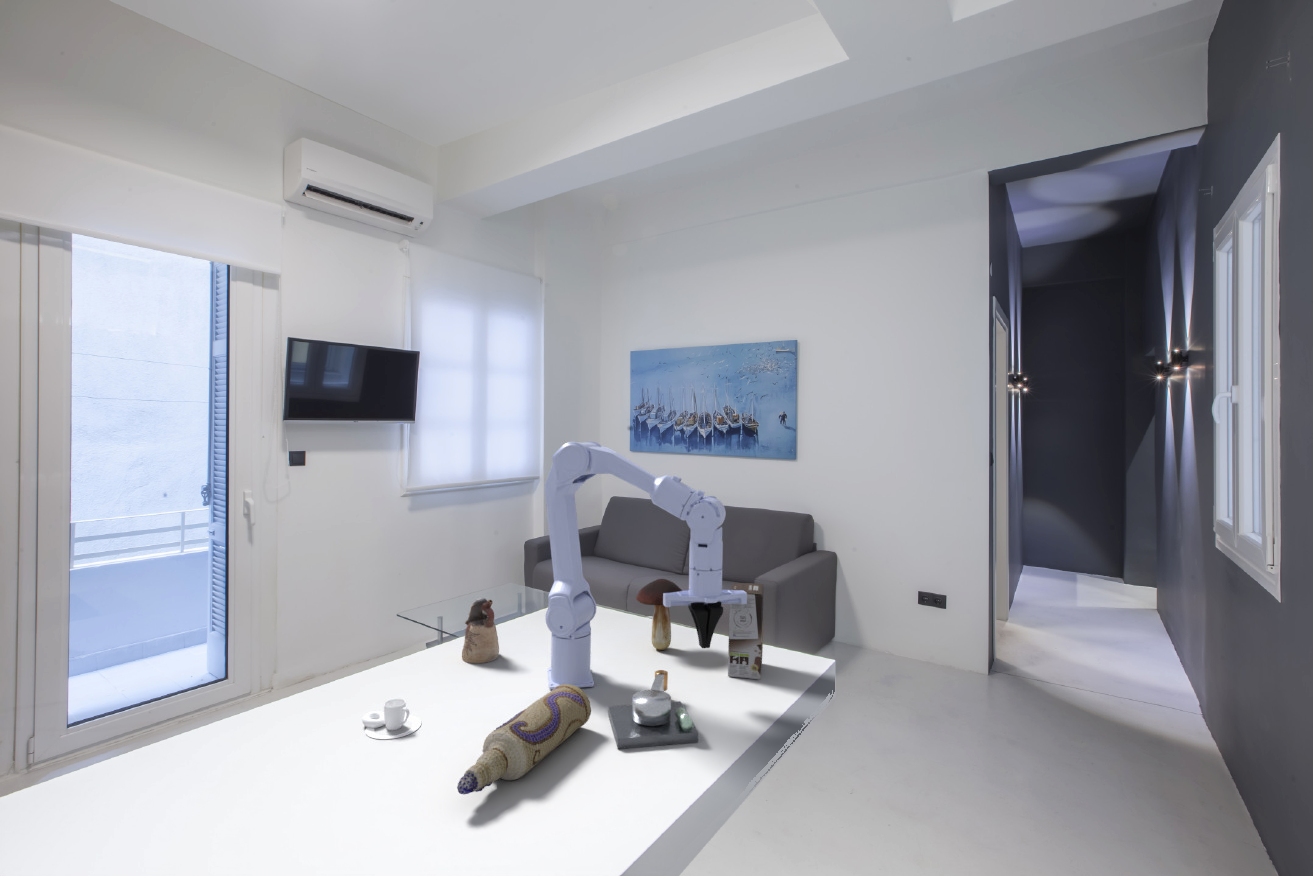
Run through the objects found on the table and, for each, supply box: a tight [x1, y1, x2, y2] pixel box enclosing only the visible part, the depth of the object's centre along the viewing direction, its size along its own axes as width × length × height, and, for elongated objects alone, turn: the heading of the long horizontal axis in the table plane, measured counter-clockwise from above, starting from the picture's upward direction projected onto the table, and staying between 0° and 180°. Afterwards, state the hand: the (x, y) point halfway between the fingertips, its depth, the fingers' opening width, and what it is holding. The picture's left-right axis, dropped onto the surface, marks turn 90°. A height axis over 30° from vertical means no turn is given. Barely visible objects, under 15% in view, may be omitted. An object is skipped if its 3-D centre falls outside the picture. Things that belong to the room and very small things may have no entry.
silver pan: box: [631, 669, 672, 726], centre depth 102 cm, size 15×6×3 cm, turn 172°
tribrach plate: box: [607, 700, 699, 750], centre depth 97 cm, size 11×12×4 cm
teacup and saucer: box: [361, 698, 422, 740], centre depth 96 cm, size 9×8×4 cm
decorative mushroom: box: [635, 578, 683, 651], centre depth 133 cm, size 11×11×15 cm
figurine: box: [461, 597, 500, 664], centre depth 127 cm, size 7×7×12 cm
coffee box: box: [727, 582, 764, 680], centre depth 122 cm, size 9×6×16 cm
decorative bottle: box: [456, 684, 592, 795], centre depth 86 cm, size 26×8×7 cm, turn 156°
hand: (704, 646), depth 108 cm, fingers closed
